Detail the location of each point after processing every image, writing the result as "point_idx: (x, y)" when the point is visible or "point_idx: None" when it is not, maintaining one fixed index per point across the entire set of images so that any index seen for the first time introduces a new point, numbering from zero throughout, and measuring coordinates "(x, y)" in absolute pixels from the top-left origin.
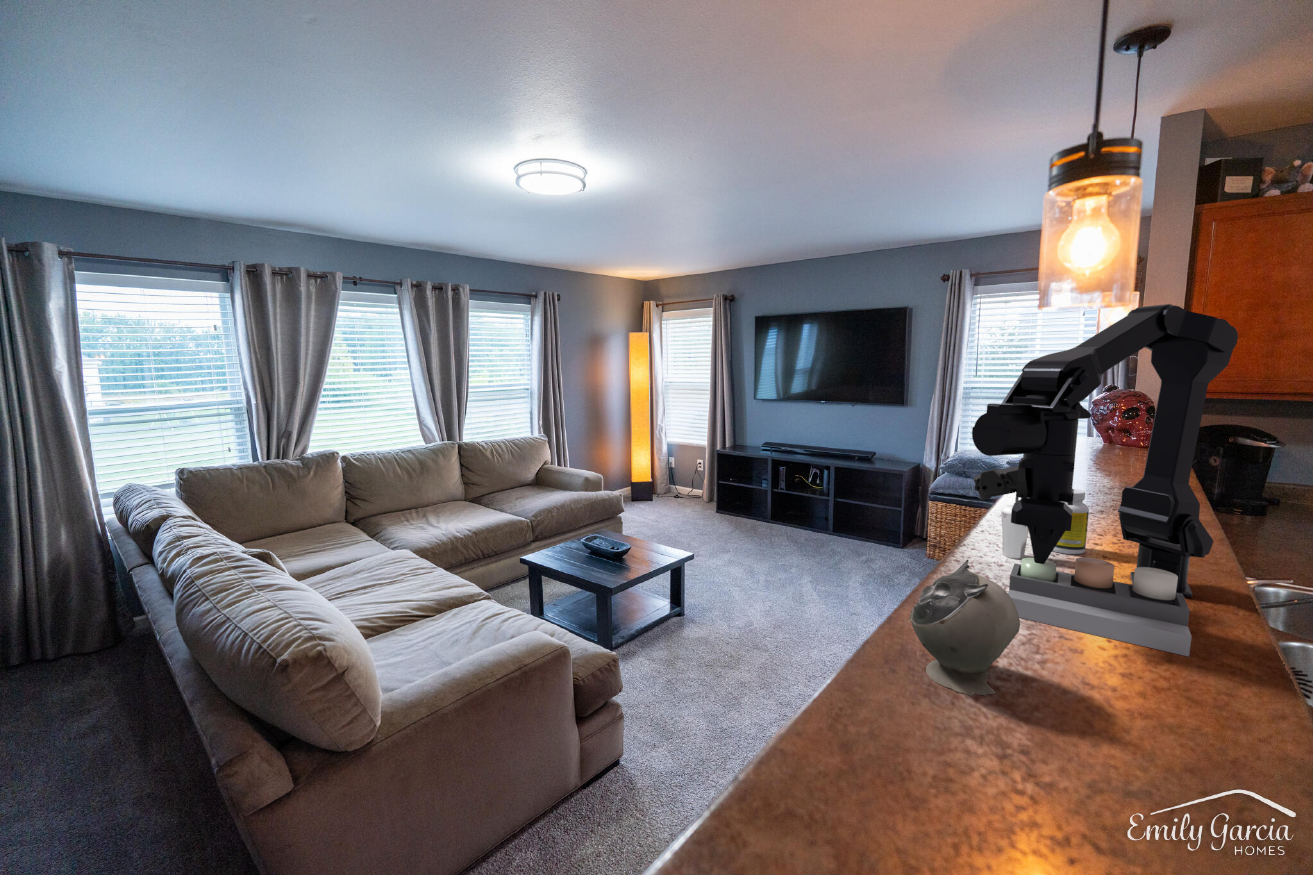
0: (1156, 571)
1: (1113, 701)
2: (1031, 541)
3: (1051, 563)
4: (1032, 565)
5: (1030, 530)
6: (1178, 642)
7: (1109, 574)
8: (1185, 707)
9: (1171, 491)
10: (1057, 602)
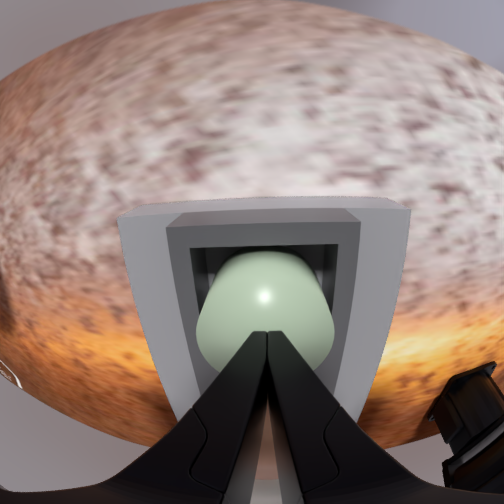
0: (279, 498)
1: (25, 339)
2: (194, 407)
3: None
4: (198, 324)
5: (125, 472)
6: None
7: None
8: (68, 388)
9: None
10: (177, 330)
